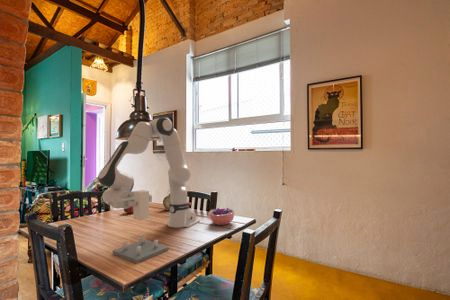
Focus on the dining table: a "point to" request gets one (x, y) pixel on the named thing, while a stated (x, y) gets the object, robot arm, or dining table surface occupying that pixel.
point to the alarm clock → (166, 202)
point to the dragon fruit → (129, 210)
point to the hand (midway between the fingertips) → (142, 202)
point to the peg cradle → (140, 250)
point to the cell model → (221, 216)
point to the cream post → (141, 205)
